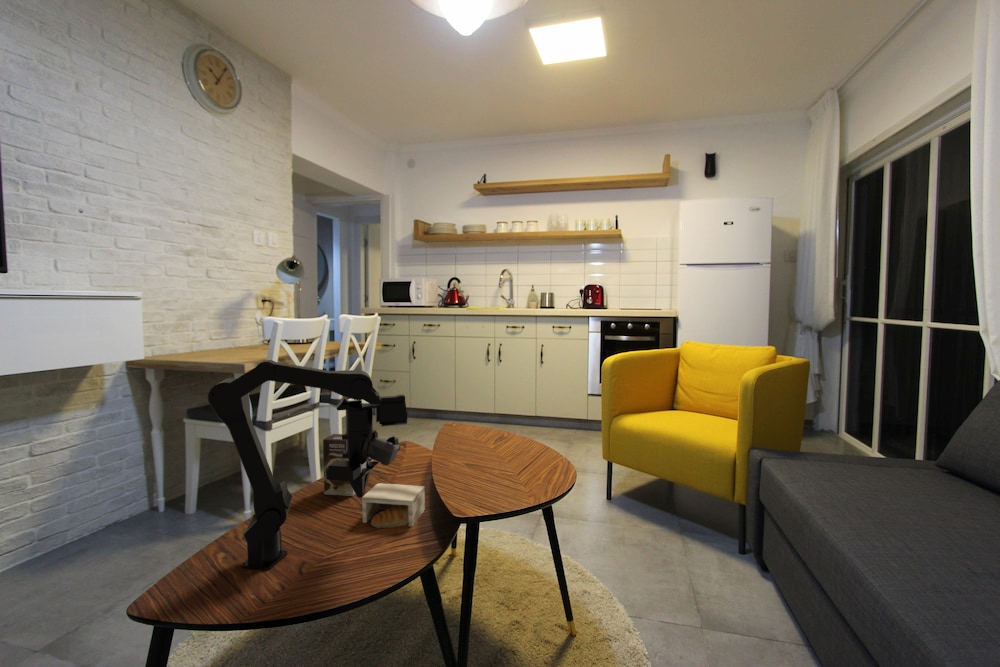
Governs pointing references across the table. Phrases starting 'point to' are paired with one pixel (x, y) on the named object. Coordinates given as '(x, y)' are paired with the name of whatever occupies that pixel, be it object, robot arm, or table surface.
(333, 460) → the coffee box
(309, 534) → the table surface
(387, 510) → the pastry
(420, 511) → the plain beige box
